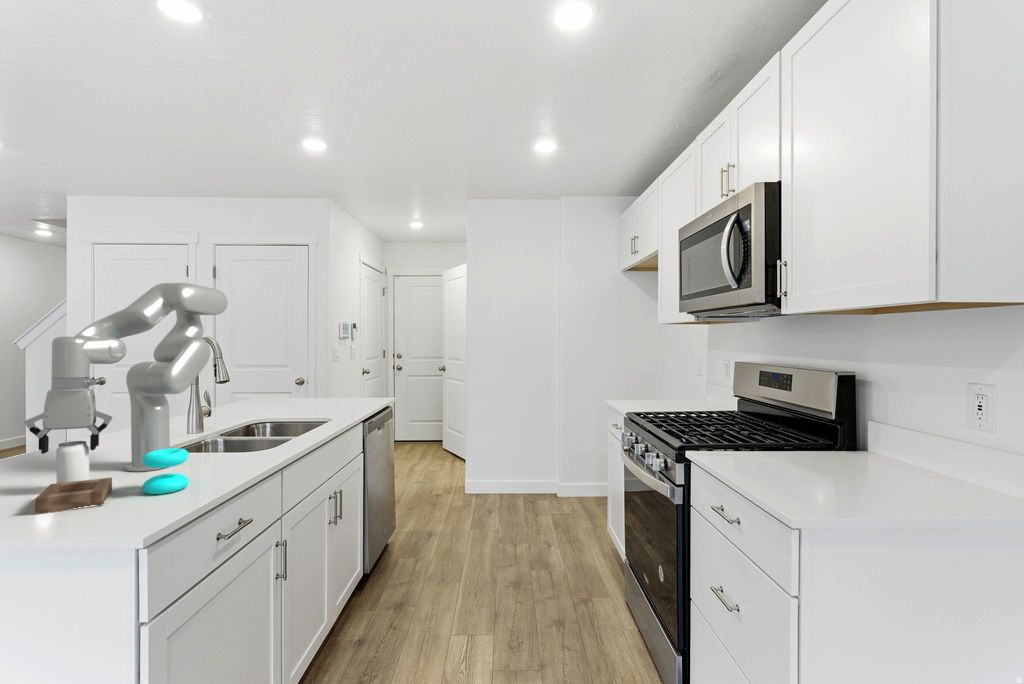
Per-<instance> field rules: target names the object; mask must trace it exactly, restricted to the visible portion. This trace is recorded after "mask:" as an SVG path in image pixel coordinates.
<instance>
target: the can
mask: <svg viewBox="0 0 1024 684" xmlns="http://www.w3.org/2000/svg"><path fill="white" fill-rule="evenodd" d="M55 455H56V457H55V458H56V463H55V465H56V467H55V468H56V469H55V470H56V473H55V474H56V484H57V483H66V482H75V481H84V480H90V446H89V445H88V443H87V440H72V441H66V442H61V443H58V447H57V449H56V452H55Z"/></svg>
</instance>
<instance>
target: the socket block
mask: <svg viewBox="0 0 1024 684" xmlns="http://www.w3.org/2000/svg"><path fill="white" fill-rule="evenodd" d="M111 491H112V492H113V477H105V478H103V477H102V478H96V479H95V478H94V479H89V480H84V481H75V482H66V483H57V482H56V483H51V484H49V485H48V486H47V487H46V488H45V489H44V490H43V491H42V492H40V494H38V495H37V496H36V497H35V498H34V515H41V514H48V512H50V513H56V512H55V511H58V512H63V511H62V510H66V511H69V510H68V509H73V508H78V507H84V506H91V505H101V504H103V503H104V501H105V500H106V498H107V497H108V495H109V494H110V495H111V493H112V492H111ZM110 495H109V496H110ZM108 498H109V497H108ZM108 498H107V499H108ZM106 501H107V500H106ZM106 501H105V502H106ZM104 504H105V503H104ZM104 504H103V505H104ZM73 510H74V509H73Z"/></svg>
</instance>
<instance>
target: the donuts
mask: <svg viewBox="0 0 1024 684" xmlns="http://www.w3.org/2000/svg"><path fill="white" fill-rule="evenodd" d="M188 459H189V451H187V450H186V449H185V448H178V447H177V448H174V447H173V448H172V447H170V449H161V450H156V451H152V452H149V453H147V454H145V455H144V456H143V458H142V462H143V464H144V465H146V466H148V467H151V468H162V469H165V468H166V469H167V468H172V467H175V466H178V465H181V464H184V463H185V462H186V461H187V460H188ZM189 483H190V481H189V477H188V476H187V475H184V474H183V473H182V474H181V473H176V472H174V473H171V472H170V473H162V474H158V475H155V476H152V477H150V478H148V479H147V480H145V481H144V483H143V485H142V491H143V492H144V493H146V494H147V495H154V494H158V495H165V494H164V493H168V494H171V493H170V492H173V493H175V492H174V491H177V492H179V491H178V490H180V491H182V490H184V489H186V488H187V487H188V486H189ZM185 487H186V488H185ZM183 488H184V489H183ZM181 489H182V490H181Z"/></svg>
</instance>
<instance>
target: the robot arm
mask: <svg viewBox="0 0 1024 684" xmlns="http://www.w3.org/2000/svg"><path fill="white" fill-rule="evenodd" d="M228 303H229V302H228V297H227V296H226V294H225V293H224V292H223V291H221V290H219V289H218V288H213V287H208V286H207V287H206V286H203V285H199V284H194V283H187V282H163V283H159V284H155V285H154V286H153V287H151V288H150V289H148V290H147V291H146V292H144V293H143V294H142V295H140V297H138V298H136V300H134V301H133V302H132V303H131V304H129V305H128V306H126V307H125V308H123V309H121V310H118V311H116V312H114V313H112V314H108V315H107V316H105V317H102V318H100V319H99V320H96V321H94V322H92V323H90V324H89V325H87V326H86V327H84V328H83V329H82V330H80V331H79V332H78V333H77V334H75V335H74V336H57V337H55V338H53V340H52V343H51V378H50V380H51V383H50V384H51V385H50V388H51V389H49V390H47V392H46V397H45V400H44V406H43V412H42V413H41V414H40V413H39V414H38V415H35V416H33V417H31V418H28V419H26V420H25V421H24V424H25V425H26V427H27V428H28V430H29V432H31V433H32V434H33V435H34V436H36V438H38V450H39V451H40V452H41V454H42V455H43V454H46V453H48V452H49V441H50V439H49V438H50V437H49V435H48V433H49V432H51V431H55V430H56V431H57V430H70V429H72V430H75V429H87V430H88V431H90V432H91V434H90V438H89V439H90V440H89V441H90V443H89V451H94V450H96V449H97V447H99V446H100V433H102V431H103V430H105V429H106V428H108V426H109V425H110V423H111V421H112V420H113V416H111V415H110V414H107V413H104V412H101V411H98V410H97V404H96V395H95V391H94V389H93V388H91V386H94V385H97V379H92V378H91V373H90V371H91V365H92V364H94V365H112V364H115V363H119V362H120V361H122V360H123V359H124V358H125V357H126V355H127V346H126V343H124V342H123V340H121V339H123V338H127V337H131V336H135V335H139V334H142V333H145V332H148V331H150V330H151V329H154V327H155V326H156V325H157V324H158V323H160V322H161V321H162V320H163V319H165V318H166V316H168V315H169V314H170V313H171V312H173V311H175V314H176V322H175V324H174V326H173V327H172V328H171V330H169V332H168V333H167V334H166V335H165V336H164V337H163V338H162V340H161V341H160V342H159V343H158V344H157V345H156V347H155V349H154V351H153V358H154V361H142V362H138V363H136V364H134V365H133V366H131V367H130V368H129V369H128V371H127V374H126V376H125V377H126V378H125V381H126V387H127V390H128V396H129V399H130V429H131V430H130V434H131V436H130V437H131V438H130V439H131V441H130V442H131V443H130V444H131V445H130V446H131V448H130V449H131V451H130V454H131V462H127V463H126V464H125V465H124V470H125V471H129V472H146V471H148V472H149V471H150V472H151V471H157V470H162V469H163V468H151V467H148V466H146V465H144V464H143V462H142V458H143V456H144V455H145V454H147V453H149V452H152V451H156V450H161V449H170V448H171V447H170V446H171V444H170V443H171V441H170V433H171V432H170V404H169V401H168V399H167V396H166V395H178V394H181V393H183V392H185V391H186V390H187V389H188V388H189V387H190V386H191V385H192V384H193V382H194V381H195V380H196V379H197V377H198V376H199V374H200V373H201V372H202V371H203V369H204V368H205V367H206V366H207V363H208V362H209V359H210V357H211V348H210V344H209V343H208V341H206V340H205V339H204V338H202V337H204V332H205V331H204V326H203V322H202V320H201V317H200V316H217V315H221V314H223V313H224V312H225V311H226V309H228V308H227V307H228ZM97 418H99V419H101V420H103V422H102V424H100V425H99V426H97V425H96V422H97ZM40 420H41V421H42V429H41V428H39V427H38V426H36V424H35V423H36V422H38V421H40Z"/></svg>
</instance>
